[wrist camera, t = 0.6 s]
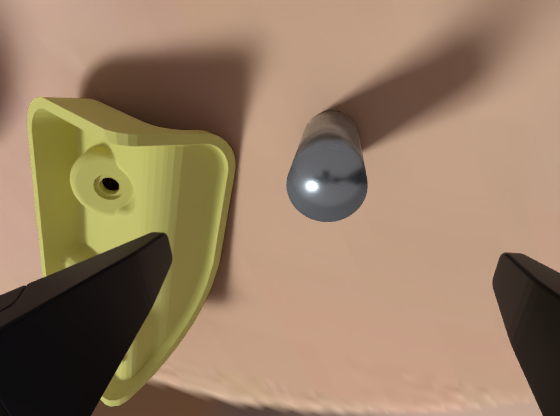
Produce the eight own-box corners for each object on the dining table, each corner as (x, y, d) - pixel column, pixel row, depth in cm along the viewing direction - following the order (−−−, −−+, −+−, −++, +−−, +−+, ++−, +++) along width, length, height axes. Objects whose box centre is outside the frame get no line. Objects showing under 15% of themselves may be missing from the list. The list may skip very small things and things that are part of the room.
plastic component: (22, 87, 18) (130, 142, 14) (139, 92, 24) (241, 133, 20) (49, 340, 27) (122, 425, 22) (132, 298, 33) (203, 359, 28)
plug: (360, 110, 18) (370, 148, 12) (356, 165, 20) (364, 223, 14) (303, 111, 19) (285, 147, 13) (303, 164, 20) (287, 220, 14)
